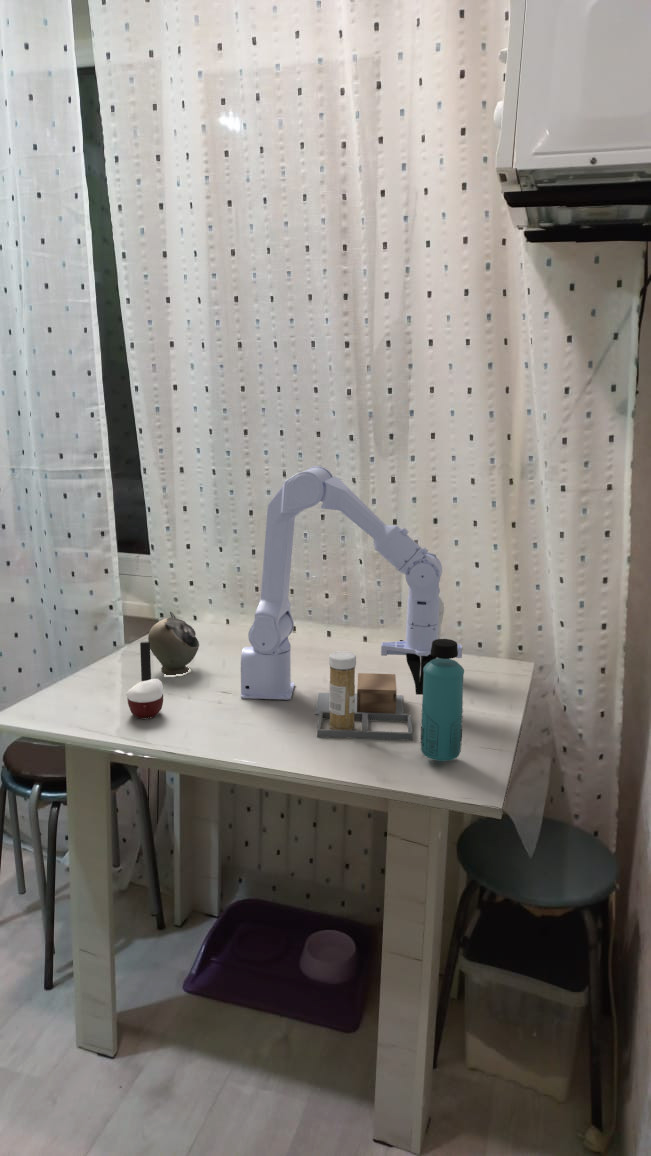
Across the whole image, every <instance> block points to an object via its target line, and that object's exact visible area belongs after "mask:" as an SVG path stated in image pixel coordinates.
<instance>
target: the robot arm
mask: <svg viewBox="0 0 651 1156" xmlns="http://www.w3.org/2000/svg"><path fill="white" fill-rule="evenodd" d="M320 502H322V504H321V506H320V509H323V510H324V509H325V510H331V511H334V510H335V511H339V512H341V513H342V514H343V515H344V516H345V517H346V518H348V519H349V520H350V521H352V522H353V523H354V524H355V525H356V526H358V527H359V528H360V529H361V530H363V532H365V533H366V534H367V535H369V536H370V537H371V538H372V539H373V542H374V544H373V545H374V550H375V551H377V553H379V554H380V555H381V556H382V558H384V559H385V560H386V561H387V562H388V563H389V564H391V565H392V566H393V567H394V568H395V569H396V570H397V571H398V572H399V573H401V574H404V575H405V581H406V583H407V586H408V595H407V600H406V601H407V602H406V626H405V627H406V628H405V640H401V641H400V640H399V641H387V642H385V641H381V642H380V656H382V657H384V656H385V657H386V656H389V655H392V656H393V655H395V656H406V657H405V658H406V659H405V660H406V663H407V666H408V668H409V670H411V671H410V672H411V676H412V679H413V682H414V687H415V688H414V689H415V695H419V696H423V680H424V671H423V668H424V666H425V665H426V664H427V663H429V662H430V661H431V660H433V659H436V657H434V656H432V655H431V647H432V642H433V641H434V640H436V639H438V623H439V603H440V598H441V597H440V582H441V578H442V573H443V566H442V563H441V561H440V559H439V558H438V557H437V555H436V554H435V553H431V552H429V550H428V549H427V548H426V547H425V546H424V547H421V546H420V545H419V544H418V543H417V542H416V541H414V539H413V538H412V537H410V536H409V535H408V533H409V531H410V530H408V529H407V528H405V527H402V528H400V527H399V526H398V525H397V524H392V525H391V524H390V525H388V524H386V523H385V522H384V521H383V520H382V519H381V518H380V517H379V516H378V515H376V513H375V512H373V511H372V510H371V508H370V507H368V505H366V504H365V503H364V502H363V500H361V499H360V498H359V497H358V496H357V495H356V493H354V492H353V491H352V490H351V489H350V488H349V486H348V485H346V483H344V481H342V479H340V478H339V477H337V476H335V475H334V476H333V474H332V473H331V471H330V470H329V469H328V468H326V467H324V466H320V465H318V466H317V465H316V466H315V465H314V466H310V467H309V468H307V469H306V470H304V471H299V472H297V473H295V474H294V475H292V476H290V477H289V478H287V479H285V481H284V482H283V484H282V486H281V487H280V489H279V490H278V491H277V492H276V494H275V495H274V497H273V498H272V499H271V501H269V503H268V505H267V508H266V509H267V511H266V523H265V533H264V534H265V537H264V538H265V539H264V547H263V550H264V551H263V561H262V562H263V564H262V574H261V575H262V576H261V587H260V588H261V589H260V599H259V602H258V606H257V608H256V610H255V613H254V621H253V623H252V625H251V626H250V628H249V630H248V641H249V644H250V645H251V646H243V648H242V650H241V654H240V698H241V699H255V700H256V699H257V700H258V699H259V700H260V699H261V700H262V699H263V700H292V695H293V692H294V687H295V682H294V681H291V679H292V678H291V672H292V669H291V662H292V660H291V657H292V656H291V655H292V654H291V651H292V650H291V647H292V646H291V642H290V640H289V636H290V635H291V634H292V633H293V630H294V626H295V624H294V623H295V622H294V618H293V616H292V613H291V608H292V607H291V601H290V600H289V591H290V581H291V580H290V579H291V567H292V557H293V556H292V554H293V545H294V544H293V543H294V542H293V541H294V534H295V533H294V530H295V519H296V517H297V516H298V515H300V513H301V512H303V511H304V510H307V509H310V508H313V507H315V506H316V505H318V504H319V503H320ZM439 597H440V598H439ZM457 649H458V656H457V657H455V659H462V658H463V645H462V644H458V643H457ZM420 656H421V663H420ZM420 666H421V675H420Z"/></svg>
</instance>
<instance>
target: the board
mask: <svg viewBox="0 0 651 1156" xmlns="http://www.w3.org/2000/svg"><path fill="white" fill-rule="evenodd" d="M329 697H330V692H318V693H317V698H316V699H317V700H316V705H315V711H314V716H319V715H320V711H330V710H329ZM354 712H357V693H355V710H354ZM361 713H373V712H361ZM390 714H405V710H404V699H403V695H402V694H396V713H390Z"/></svg>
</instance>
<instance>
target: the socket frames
mask: <svg viewBox="0 0 651 1156" xmlns="http://www.w3.org/2000/svg"><path fill="white" fill-rule="evenodd" d="M411 718H412V717H411V714H410V713H404V714H390V713H361V712H354V721H356V720H357V721H361V730H356V729H355V730H354V729H353V730H331V729H325V728H324V729H323V728H322V726H323V720H328V719H329V720H330V711H320V715H318V723H317V728H316V737H317V738H335V739H340V738H341V739H362V740H363V739H366V740H389V741H390V740H391V741H392V740H394V741H395V740H396V741H413V728H412V727H413V726H412V719H411ZM369 721H380V722H382V721H383V722H386V721H388V722H406V723H407V731H385V730H384V731H382V730H381V731H379V730H369V729H368V728H369V726H368V725H369Z"/></svg>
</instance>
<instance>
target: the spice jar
mask: <svg viewBox="0 0 651 1156" xmlns="http://www.w3.org/2000/svg"><path fill="white" fill-rule="evenodd" d="M328 659H329V660H328V664H329V693H330V697H329V710H330V719H329V722H328V723H329V724H328V727H329V730H354V729H355V728H356V725H355V720H354V710H355V694H356V692H355V691H356V685H355V682H356V681H355V677H356V676H355V673H356V665H357V654H355V653H354V652H352V651H348V650H347V651H346V650H338V651H337V650H336V651H333V652H331V653H330V654H329V658H328Z"/></svg>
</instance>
